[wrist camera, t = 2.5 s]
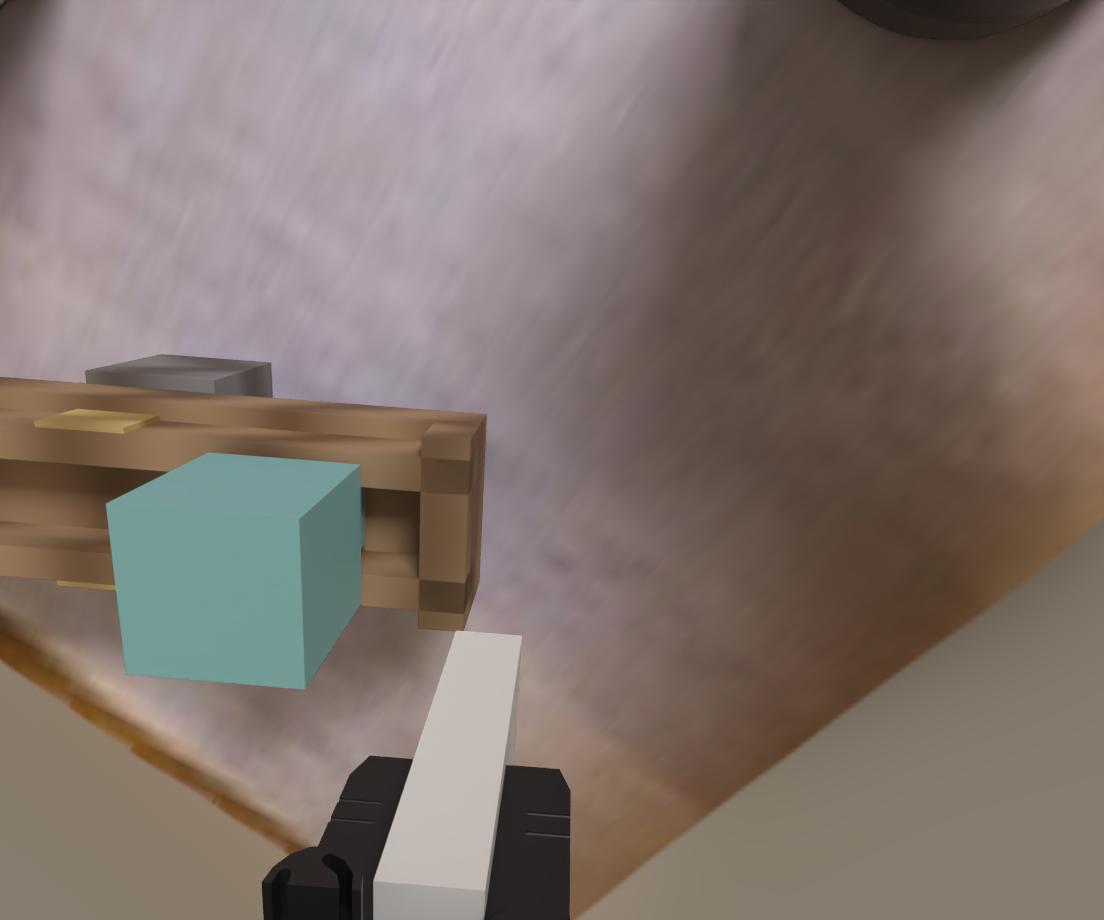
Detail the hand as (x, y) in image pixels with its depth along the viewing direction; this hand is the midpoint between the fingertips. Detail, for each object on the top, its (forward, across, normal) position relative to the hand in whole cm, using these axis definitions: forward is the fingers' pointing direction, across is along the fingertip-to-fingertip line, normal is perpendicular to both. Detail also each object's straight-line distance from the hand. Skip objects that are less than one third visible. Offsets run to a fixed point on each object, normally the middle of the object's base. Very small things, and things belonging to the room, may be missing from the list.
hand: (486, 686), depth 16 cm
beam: (+17, -15, 0) cm, 22 cm away
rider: (+10, -8, 0) cm, 12 cm away
